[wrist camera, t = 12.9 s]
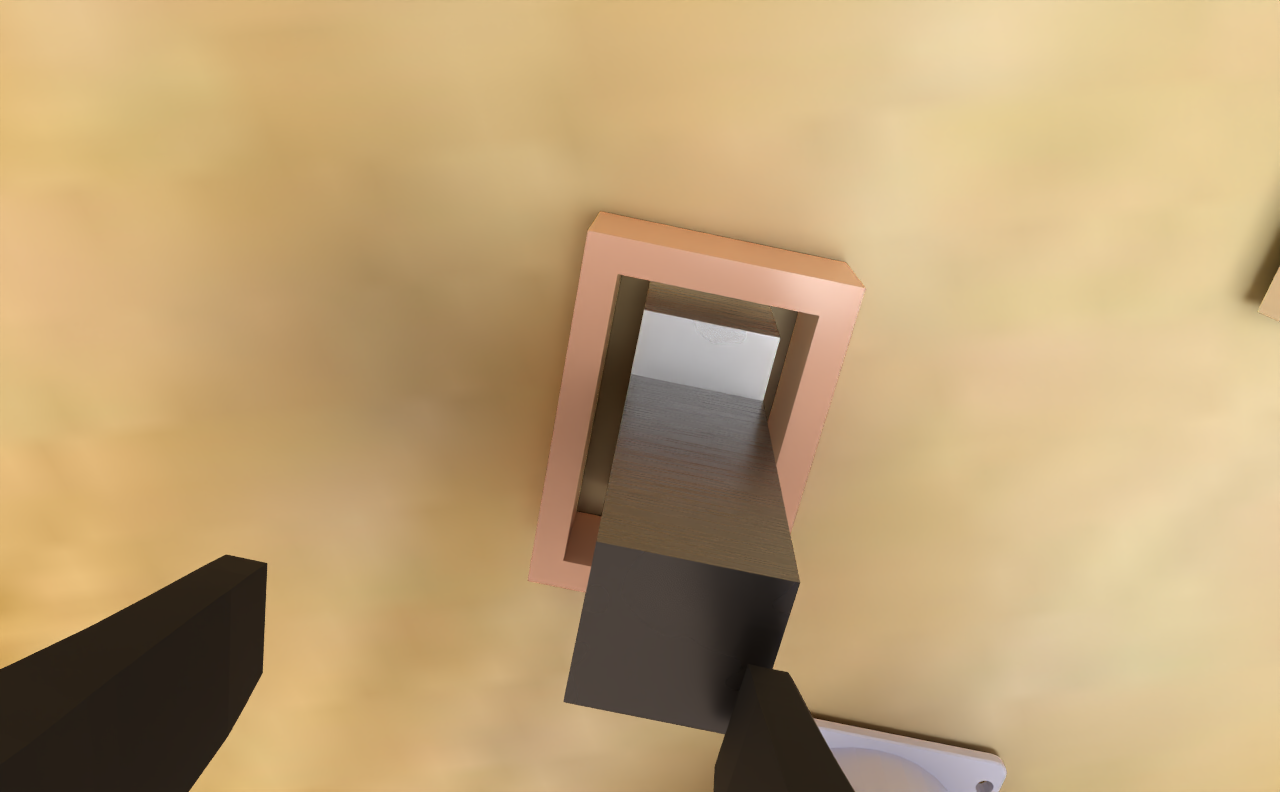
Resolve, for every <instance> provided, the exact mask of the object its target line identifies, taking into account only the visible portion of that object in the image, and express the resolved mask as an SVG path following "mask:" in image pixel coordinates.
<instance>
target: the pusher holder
mask: <svg viewBox="0 0 1280 792" xmlns="http://www.w3.org/2000/svg"><path fill="white" fill-rule="evenodd" d="M622 275H625V276H630V277H634V278H639V279H644V280H649V281H654V282H659V283H663V284H668V285H673V286H678V287H683V288H687V289H692V290H697V291H702V292H707V293H712V294H716V295H721V296H726V297H731V298H736V299H740V300H745V301H750V302H755V303H760V304H765V305H769V306H774V307H779V308H784V309H789V310H794V311H798V316H797V319H796V323H795V326H794V330H793V333H792V337H791V341H790V344H789V348H788V351H787V355H786V359H785V362H784V366H783V369H782V373H781V376H780V380H779V384H778V387H777V391H776V394H775V398H774V402H773V405H772V409H771V412H770V416H769V419H768V428H769V433H770V437H771V442H772V447H773V452H774V457H775V462H776V467H777V472H778V477H779V482H780V487H781V492H782V496H783V501H784V506H785V511H786V516H787V521H788V526H789V531H790V534H791V530H792V527H793V524H794V521H795V517H796V514H797V511H798V508H799V504H800V501H801V498H802V495H803V491H804V488H805V485H806V482H807V478H808V475H809V472H810V469H811V465H812V462H813V459H814V456H815V452H816V449H817V446H818V443H819V439H820V436H821V433H822V430H823V426H824V423H825V420H826V417H827V413H828V410H829V407H830V404H831V400H832V397H833V394H834V391H835V387H836V384H837V381H838V378H839V374H840V371H841V368H842V365H843V361H844V358H845V355H846V352H847V348H848V345H849V342H850V339H851V335H852V332H853V329H854V326H855V322H856V319H857V316H858V313H859V309H860V306H861V303H862V300H863V296H864V293H865V290H866V288H865V286H864V285H863V284H862V282H861V281H860V280H859V279H858V277H857V276H856V275H855V273H854V272H853V271H852V269H851V268H850V267H849V265H848V264H847V263H846V262H841V261H836V260H832V259H827V258H822V257H817V256H812V255H808V254H803V253H798V252H793V251H788V250H784V249H779V248H774V247H769V246H764V245H760V244H755V243H750V242H745V241H740V240H736V239H731V238H726V237H721V236H716V235H712V234H707V233H702V232H697V231H693V230H688V229H683V228H678V227H673V226H669V225H664V224H659V223H654V222H649V221H645V220H640V219H635V218H630V217H625V216H621V215H616V214H611V213H606V212H601V211H600V212H599V214H598V215H597V217H596V218H595V220H594V221H593V223H592V225H591V226H590V228H589V229H588V232H587V238H586V244H585V249H584V255H583V261H582V267H581V273H580V278H579V284H578V290H577V296H576V302H575V308H574V313H573V319H572V325H571V331H570V337H569V343H568V348H567V354H566V360H565V366H564V372H563V378H562V383H561V389H560V395H559V401H558V407H557V413H556V418H555V424H554V430H553V436H552V442H551V447H550V453H549V459H548V465H547V471H546V477H545V482H544V488H543V494H542V500H541V506H540V512H539V517H538V523H537V529H536V535H535V541H534V547H533V552H532V558H531V564H530V570H529V576H528V581H531V582H536V583H541V584H546V585H551V586H556V587H560V588H565V589H570V590H575V591H580V592H585V593H586V589H587V584H588V580H589V575H590V570H591V565H592V560H593V555H594V550H595V545H596V540H597V536H598V531H599V526H600V521H601V516H597V515H592V514H587V513H582V512H577V506H578V501H579V495H580V490H581V485H582V480H583V474H584V469H585V464H586V459H587V454H588V448H589V443H590V438H591V433H592V427H593V422H594V417H595V412H596V406H597V401H598V396H599V391H600V386H601V380H602V375H603V370H604V365H605V359H606V354H607V349H608V344H609V338H610V333H611V328H612V323H613V317H614V312H615V307H616V302H617V297H618V291H619V286H620V281H621V276H622Z"/></svg>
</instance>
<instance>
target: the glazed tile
mask: <svg viewBox="0 0 1280 792" xmlns="http://www.w3.org/2000/svg"><path fill="white" fill-rule="evenodd" d="M1257 312H1259V313H1261V314H1263V315H1265V316H1268V317H1270V318H1272V319H1275V320H1277V321H1279V322H1280V267H1279V269H1278V271H1277V273H1276V275H1275V277H1274V279H1273V281H1272V283H1271V285H1270V287H1269V289H1268V291H1267V293H1266V295H1265V297H1264V299H1263V301H1262V303H1261V305H1260V307H1259V309H1258V311H1257Z"/></svg>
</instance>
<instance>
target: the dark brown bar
mask: <svg viewBox="0 0 1280 792" xmlns="http://www.w3.org/2000/svg"><path fill="white" fill-rule="evenodd" d="M779 341H780V336H779V332H778V329H777V326H776V323H775V320H774V316H773V313H772V310H771V307H770V306H769V305H765V304H760V303H755V302H750V301H745V300H740V299H736V298H731V297H726V296H721V295H716V294H712V293H707V292H702V291H697V290H692V289H687V288H683V287H678V286H673V285H668V284H663V283H659V282H654V281H650V284H649V288H648V293H647V298H646V303H645V308H644V313H643V317H642V322H641V327H640V332H639V337H638V342H637V347H636V352H635V356H634V361H633V366H632V371H631V376H630V381H629V386H628V391H627V395H626V400H625V405H624V410H623V415H622V420H621V424H620V429H619V434H618V439H617V444H616V449H615V453H614V458H613V463H612V468H611V473H610V478H609V482H608V487H607V492H606V497H605V502H604V507H603V511H602V516H601V521H600V526H599V531H598V536H597V540H596V545H595V550H594V555H593V560H592V565H591V570H590V575H589V580H588V584H587V589H586V594H585V599H584V604H583V609H582V614H581V619H580V623H579V628H578V633H577V638H576V643H575V648H574V653H573V658H572V662H571V667H570V672H569V677H568V682H567V687H566V692H565V697H564V702H566V703H571V704H576V705H581V706H586V707H591V708H596V709H601V710H606V711H611V712H616V713H621V714H626V715H631V716H636V717H641V718H646V719H651V720H656V721H661V722H666V723H671V724H676V725H681V726H686V727H691V728H696V729H701V730H706V731H711V732H716V733H721V734H726V730H727V727H728V724H729V721H730V718H731V715H732V712H733V709H734V706H735V703H736V700H737V697H738V693H739V690H740V687H741V684H742V681H743V678H744V675H745V672H746V669H747V666H748V664H750V665H755V666H760V667H764V668H769V669H773V665H774V662H775V659H776V656H777V653H778V650H779V647H780V644H781V640H782V637H783V634H784V631H785V628H786V625H787V622H788V619H789V616H790V612H791V609H792V606H793V603H794V600H795V597H796V594H797V591H798V587H799V584H800V580H799V575H798V570H797V565H796V560H795V555H794V551H793V546H792V541H791V536H790V531H789V526H788V521H787V516H786V511H785V506H784V501H783V496H782V492H781V487H780V482H779V477H778V472H777V467H776V462H775V457H774V452H773V447H772V442H771V437H770V433H769V428H768V423H767V418H766V413H765V408H764V403H763V399H764V396H765V392H766V388H767V385H768V381H769V377H770V374H771V370H772V366H773V363H774V359H775V355H776V352H777V348H778V344H779Z"/></svg>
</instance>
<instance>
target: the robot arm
mask: <svg viewBox="0 0 1280 792" xmlns="http://www.w3.org/2000/svg"><path fill="white" fill-rule="evenodd" d="M266 581H267V563H264V562H259V561H254V560H250V559H245V558H240V557H235V556H231V555H224V556H222V557H220V558H218V559H216V560H214V561H212V562H210V563H209V564H207V565H205V566H203V567H201V568H199V569H197V570H195V571H194V572H192V573H190V574H188V575H186V576H184V577H182V578H181V579H179V580H177V581H175V582H173V583H171V584H170V585H168V586H166V587H164V588H162V589H160V590H159V591H157V592H155V593H153V594H151V595H149V596H147V597H146V598H144V599H142V600H140V601H138V602H136V603H134V604H132V605H130V606H128V607H127V608H125V609H123V610H121V611H119V612H117V613H115V614H113V615H111V616H109V617H108V618H106V619H104V620H102V621H100V622H98V623H96V624H94V625H92V626H90V627H88V628H86V629H84V630H82V631H80V632H78V633H76V634H74V635H72V636H70V637H68V638H65V639H63V640H61V641H59V642H57V643H55V644H53V645H51V646H49V647H47V648H44V649H42V650H40V651H38V652H36V653H34V654H32V655H30V656H28V657H26V658H24V659H21V660H19V661H17V662H15V663H13V664H11V665H9V666H7V667H4V668H2V669H0V792H189V790H190V789H191V788H192V786H193V785H194V783H195V782H196V781H197V779H198V778H199V776H200V775H201V774H202V772H203V771H204V769H205V768H206V767H207V765H208V764H209V762H210V761H211V760H212V758H213V757H214V755H215V754H216V753H217V751H218V750H219V748H220V747H221V745H222V744H223V743H224V741H225V740H226V738H227V737H228V735H229V733H230V732H231V730H232V728H233V726H234V724H235V723H236V721H237V719H238V717H239V716H240V714H241V712H242V710H243V709H244V707H245V705H246V703H247V701H248V699H249V697H250V696H251V694H252V692H253V690H254V688H255V686H256V684H257V682H258V680H259V679H260V677H261V675H262V673H263V651H264V628H265V604H266ZM1006 774H1007V771H1006V768H1005V766H1004V763H1003V761H1002V759H1001V758H1000V757H998V756H997V755H994V754H990V753H985V752H980V751H975V750H970V749H965V748H960V747H955V746H950V745H945V744H940V743H935V742H930V741H925V740H920V739H915V738H910V737H905V736H900V735H895V734H890V733H885V732H880V731H875V730H870V729H865V728H860V727H855V726H850V725H845V724H840V723H835V722H830V721H825V720H820V719H815V718H813V717H812V715H811V713H810V711H809V709H808V707H807V706H806V704H805V702H804V700H803V698H802V696H801V694H800V692H799V690H798V689H797V687H796V685H795V683H794V681H793V679H792V678H791V676H790V675H789V673H788V672H783V671H779V670H774V669H769V668H764V667H760V666H755V665H750V664H748V666H747V669H746V672H745V675H744V678H743V681H742V684H741V687H740V690H739V693H738V697H737V700H736V703H735V706H734V709H733V712H732V715H731V718H730V721H729V724H728V727H727V730H726V734H725V737H724V740H723V743H722V746H721V749H720V752H719V755H718V758H717V761H716V764H715V774H714V792H999V790H1000V788H1001V786H1002V784H1003V782H1004V780H1005V778H1006ZM981 781H986V782H984V783H979V782H981Z"/></svg>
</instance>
